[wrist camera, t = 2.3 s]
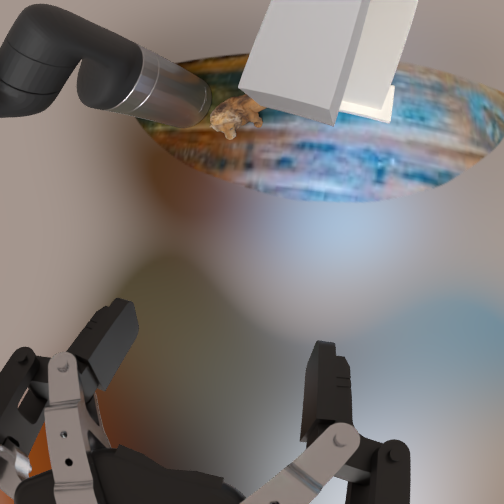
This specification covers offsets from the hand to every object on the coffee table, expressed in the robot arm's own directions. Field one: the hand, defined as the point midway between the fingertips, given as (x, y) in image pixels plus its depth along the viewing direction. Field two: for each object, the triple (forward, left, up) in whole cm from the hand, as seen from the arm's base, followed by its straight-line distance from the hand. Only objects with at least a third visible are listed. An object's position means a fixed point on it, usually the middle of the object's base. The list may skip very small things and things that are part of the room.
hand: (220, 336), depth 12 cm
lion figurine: (-10, +16, -31) cm, 36 cm away
